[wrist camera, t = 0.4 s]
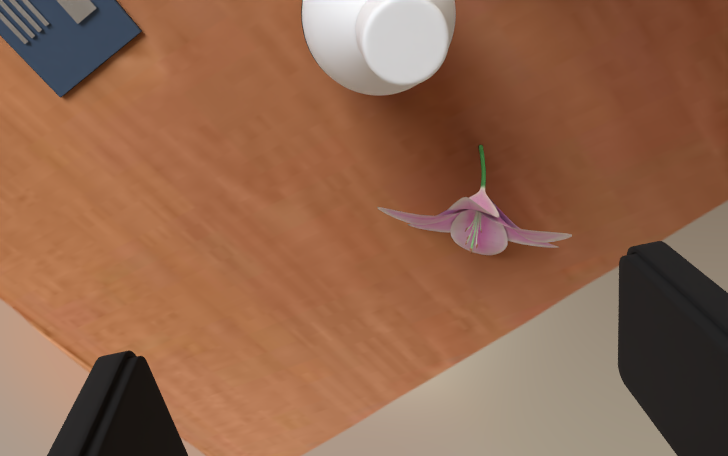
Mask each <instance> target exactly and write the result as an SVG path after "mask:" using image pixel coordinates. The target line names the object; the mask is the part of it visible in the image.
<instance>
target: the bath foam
mask: <svg viewBox="0 0 728 456" xmlns="http://www.w3.org/2000/svg"><path fill="white" fill-rule="evenodd" d="M301 16H302V27H303V33H304V37H305V40H306V43H307V46H308V48H309V50H310V52H311V54H312V56H313V58H314V59H315V61H316V62H317V63H318V65H319V66H320V67H321V68H322V70H323V71H324V72H325V73H326V74H327V75H329V76H330V77H331V78H332V79H333V80H335V81H336V82H337V83H339V84H341V85H342V86H344V87H346V88H348V89H350V90H353V91H355V92H358V93H362V94H367V95H391V94H396V93H399V92H403V91H405V90H408V89H410V88H412V87H414V86H416V85H417V84H419V83H421V82H424V81H425V80H427V79H429V78H430V77H431V76H432V75H434V74H435V73H436V72H437V70H438V69H439V68H440V67H441V65H442V64H443V62H444V60H445V58H446V55H447V52H448V48H449V45H450V43H451V40H452V37H453V33H454V28H455V20H456V8H455V0H302V12H301Z"/></svg>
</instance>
